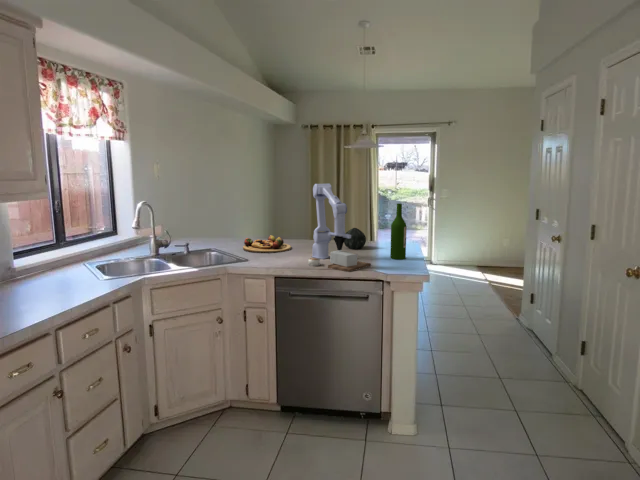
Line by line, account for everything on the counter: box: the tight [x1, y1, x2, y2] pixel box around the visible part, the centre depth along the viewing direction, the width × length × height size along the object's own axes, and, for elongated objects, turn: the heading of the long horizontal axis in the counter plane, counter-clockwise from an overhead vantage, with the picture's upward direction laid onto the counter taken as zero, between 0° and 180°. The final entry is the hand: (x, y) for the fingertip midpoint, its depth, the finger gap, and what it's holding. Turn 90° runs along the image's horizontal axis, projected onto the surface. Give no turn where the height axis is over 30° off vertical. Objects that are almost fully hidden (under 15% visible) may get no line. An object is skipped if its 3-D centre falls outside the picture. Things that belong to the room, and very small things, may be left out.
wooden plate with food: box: [242, 234, 292, 254], centre depth 301 cm, size 32×32×8 cm
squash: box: [343, 227, 367, 250], centre depth 302 cm, size 14×15×15 cm
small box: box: [329, 249, 358, 267], centre depth 247 cm, size 8×6×13 cm
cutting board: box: [327, 260, 372, 273], centre depth 247 cm, size 14×20×2 cm
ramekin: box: [307, 257, 321, 267], centre depth 251 cm, size 6×6×4 cm
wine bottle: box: [389, 203, 407, 261], centre depth 267 cm, size 9×9×32 cm
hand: (339, 250), depth 250 cm, fingers closed
